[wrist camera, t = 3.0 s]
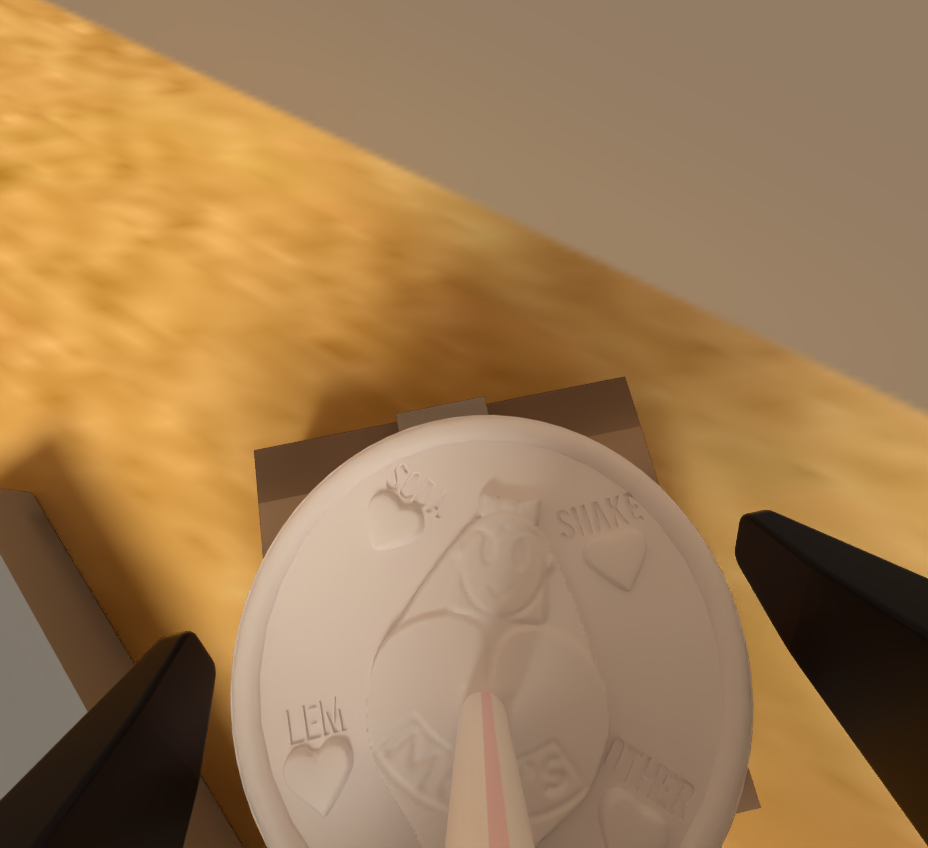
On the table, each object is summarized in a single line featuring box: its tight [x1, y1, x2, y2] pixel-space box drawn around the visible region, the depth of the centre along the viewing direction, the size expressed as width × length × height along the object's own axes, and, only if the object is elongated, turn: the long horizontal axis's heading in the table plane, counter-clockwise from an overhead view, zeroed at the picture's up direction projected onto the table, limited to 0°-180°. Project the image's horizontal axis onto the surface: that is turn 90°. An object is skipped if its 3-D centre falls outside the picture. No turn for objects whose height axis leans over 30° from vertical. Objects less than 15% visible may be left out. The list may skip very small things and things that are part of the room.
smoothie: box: [230, 415, 753, 848], centre depth 8 cm, size 6×6×14 cm
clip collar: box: [254, 377, 761, 814], centre depth 13 cm, size 11×11×4 cm
